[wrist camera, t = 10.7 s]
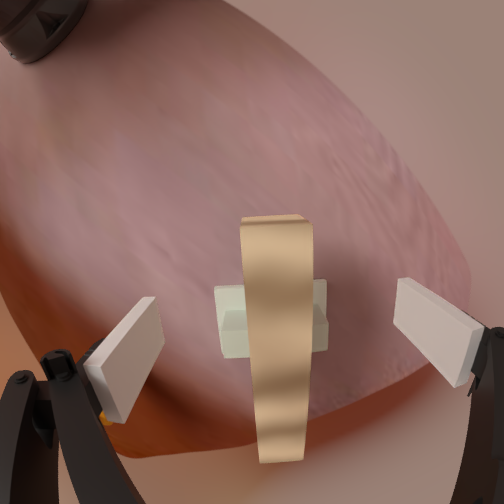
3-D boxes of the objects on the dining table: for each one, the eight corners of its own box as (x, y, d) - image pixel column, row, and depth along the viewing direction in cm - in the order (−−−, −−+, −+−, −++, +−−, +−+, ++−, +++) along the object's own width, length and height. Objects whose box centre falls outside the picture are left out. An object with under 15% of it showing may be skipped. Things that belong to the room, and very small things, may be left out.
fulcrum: (215, 286, 31) (206, 306, 25) (324, 278, 31) (340, 297, 25) (222, 349, 32) (217, 378, 26) (323, 342, 32) (335, 369, 26)
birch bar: (242, 217, 23) (239, 228, 17) (298, 214, 23) (312, 224, 17) (258, 427, 29) (259, 463, 23) (297, 424, 28) (303, 459, 23)
